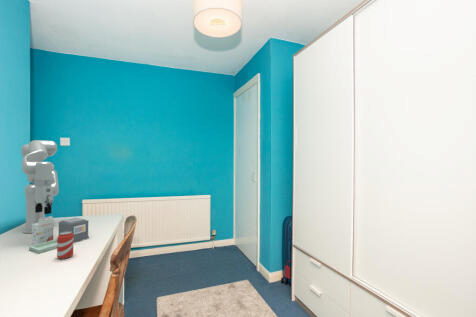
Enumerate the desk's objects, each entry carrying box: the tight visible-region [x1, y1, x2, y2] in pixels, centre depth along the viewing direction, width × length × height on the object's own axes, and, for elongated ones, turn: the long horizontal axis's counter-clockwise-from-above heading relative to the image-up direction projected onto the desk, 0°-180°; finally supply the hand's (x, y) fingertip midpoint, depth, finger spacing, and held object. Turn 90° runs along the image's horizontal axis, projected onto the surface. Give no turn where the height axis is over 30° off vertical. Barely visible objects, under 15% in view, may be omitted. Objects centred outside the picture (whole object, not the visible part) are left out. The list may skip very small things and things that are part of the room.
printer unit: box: [57, 217, 89, 243], centre depth 136 cm, size 12×10×12 cm
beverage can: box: [56, 231, 75, 260], centre depth 111 cm, size 6×6×12 cm
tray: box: [28, 239, 57, 254], centre depth 123 cm, size 10×14×2 cm
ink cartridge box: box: [31, 215, 54, 246], centre depth 130 cm, size 9×5×15 cm, turn 168°
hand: (43, 213), depth 130 cm, fingers open, 9 cm apart
